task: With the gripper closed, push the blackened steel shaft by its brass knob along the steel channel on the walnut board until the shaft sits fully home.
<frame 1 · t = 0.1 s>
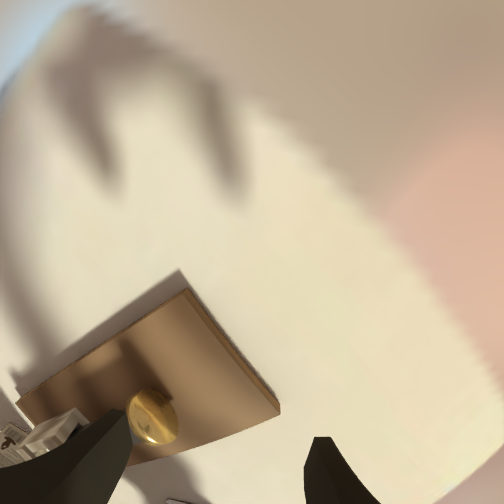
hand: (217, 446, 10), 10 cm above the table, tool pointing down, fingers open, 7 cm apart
coffee box: (34, 451, 25), on the table
board: (74, 427, 23), on the table
shaft: (105, 434, 18), point 4 cm above the table, slide at 7.0 cm
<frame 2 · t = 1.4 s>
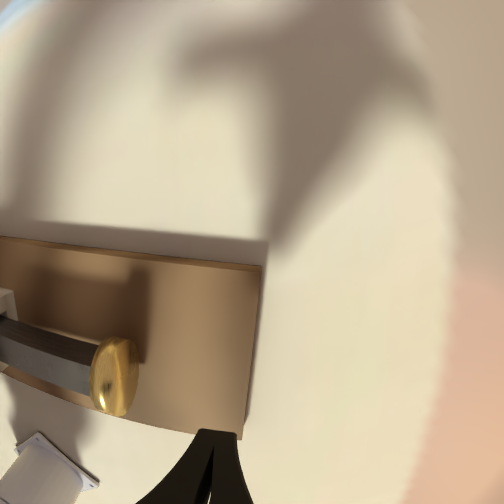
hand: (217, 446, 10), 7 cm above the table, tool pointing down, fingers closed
shaft: (35, 351, 13), point 3 cm above the table, slide at 7.0 cm
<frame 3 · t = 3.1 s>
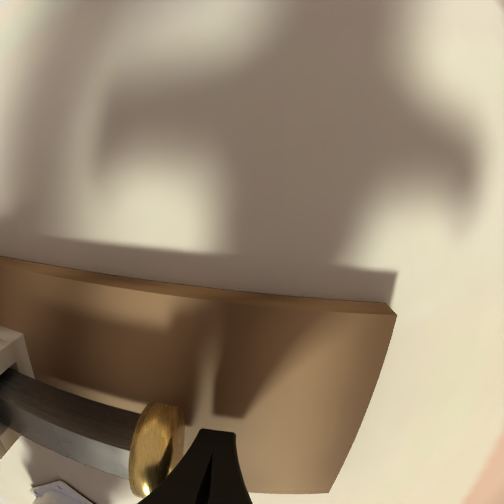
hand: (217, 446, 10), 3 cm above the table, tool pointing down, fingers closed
shaft: (40, 413, 9), point 3 cm above the table, slide at 5.6 cm, touching gripper
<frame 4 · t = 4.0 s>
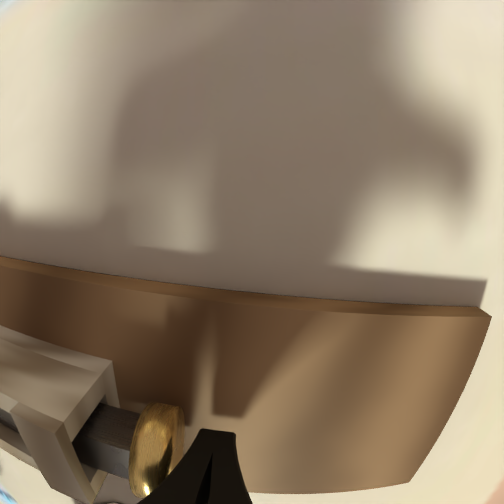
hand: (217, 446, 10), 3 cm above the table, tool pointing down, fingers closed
board: (53, 365, 13), on the table
shaft: (41, 413, 9), point 3 cm above the table, slide at 0.5 cm, touching gripper
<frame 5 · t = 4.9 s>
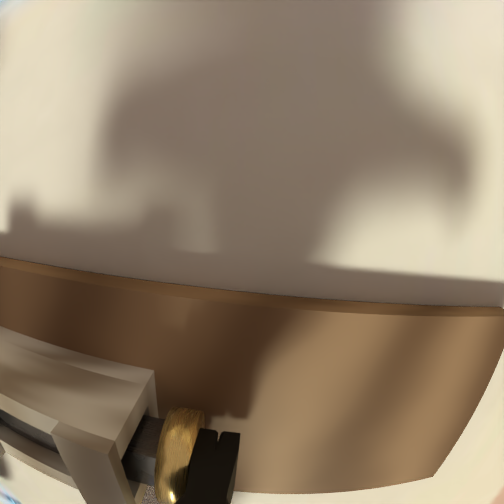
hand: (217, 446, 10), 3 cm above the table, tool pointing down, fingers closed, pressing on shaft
board: (81, 375, 12), on the table
shaft: (55, 420, 9), point 3 cm above the table, slide at -0.4 cm, touching gripper
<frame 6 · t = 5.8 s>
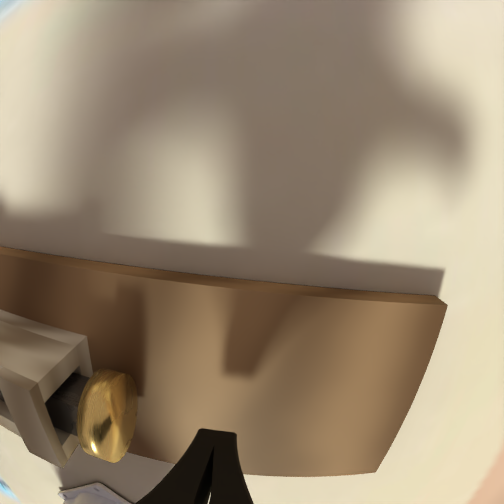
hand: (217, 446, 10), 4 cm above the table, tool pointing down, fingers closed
board: (40, 344, 14), on the table
shaft: (16, 380, 10), point 3 cm above the table, slide at 0.0 cm
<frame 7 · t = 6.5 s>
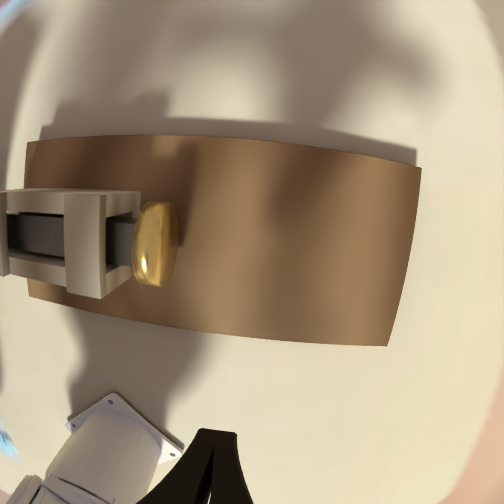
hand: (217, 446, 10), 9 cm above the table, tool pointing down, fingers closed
board: (85, 223, 18), on the table
shaft: (66, 233, 14), point 4 cm above the table, slide at 0.0 cm
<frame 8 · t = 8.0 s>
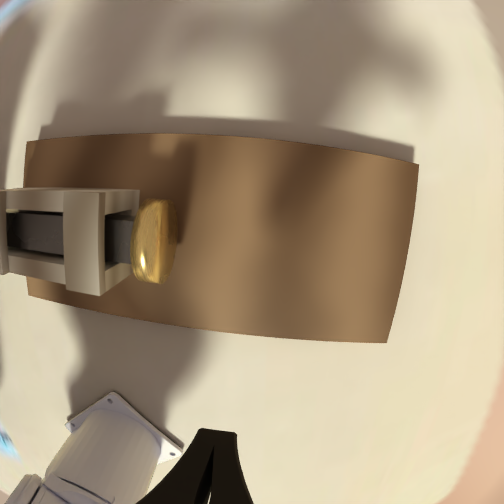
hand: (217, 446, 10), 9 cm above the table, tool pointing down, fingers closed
board: (84, 222, 18), on the table
shaft: (66, 231, 14), point 3 cm above the table, slide at 0.0 cm
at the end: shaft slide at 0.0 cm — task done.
